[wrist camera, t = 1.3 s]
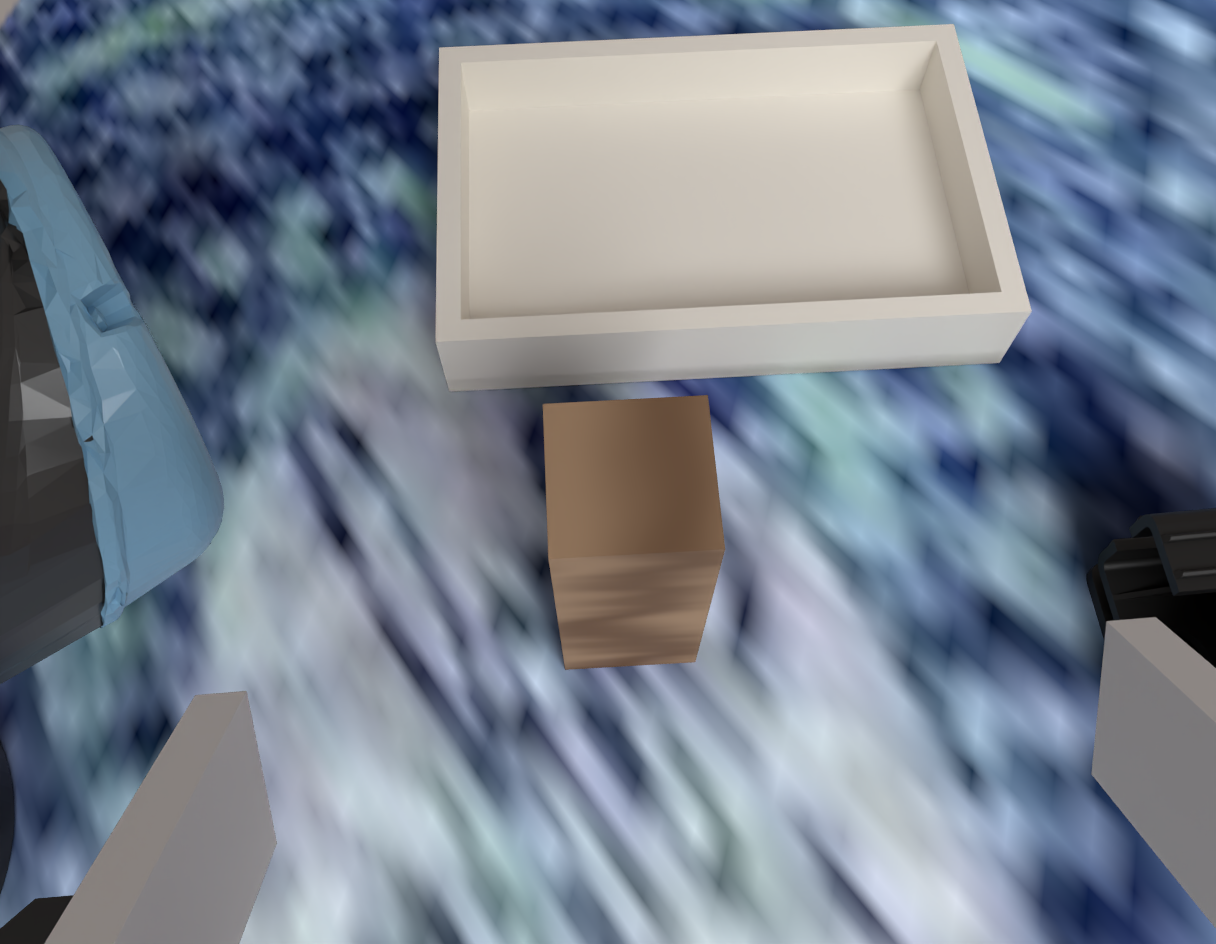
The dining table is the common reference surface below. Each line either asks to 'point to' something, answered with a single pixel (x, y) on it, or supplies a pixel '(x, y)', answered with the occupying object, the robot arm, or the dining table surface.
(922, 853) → the dining table surface
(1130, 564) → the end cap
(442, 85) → the sorting tray
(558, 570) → the walnut block
